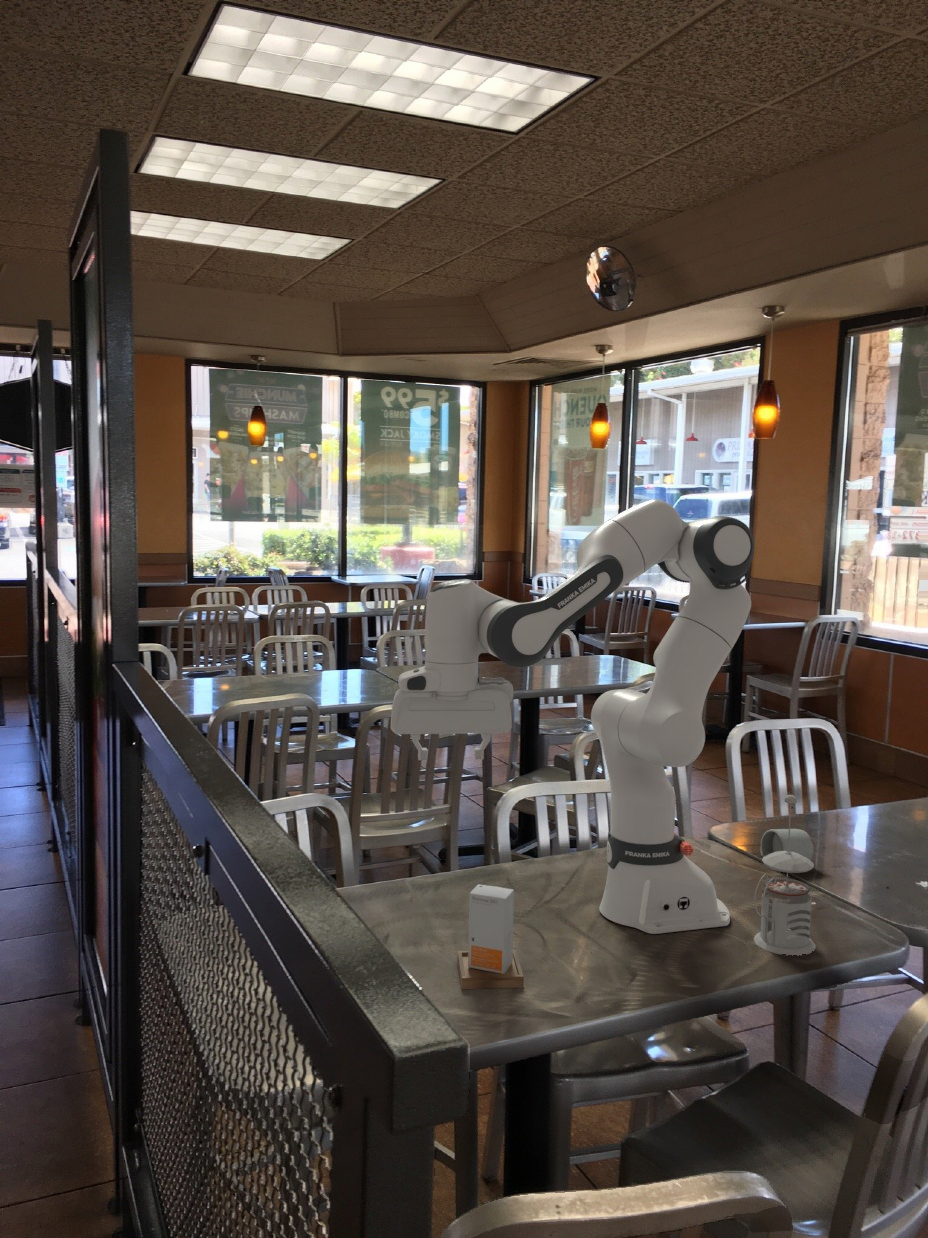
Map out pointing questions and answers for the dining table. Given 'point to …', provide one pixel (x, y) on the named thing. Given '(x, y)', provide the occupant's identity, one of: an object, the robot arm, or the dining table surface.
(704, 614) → the robot arm
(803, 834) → the ceramic mug
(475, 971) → the walnut tray
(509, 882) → the dining table surface
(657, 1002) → the dining table surface
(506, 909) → the skincare box
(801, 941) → the french press
